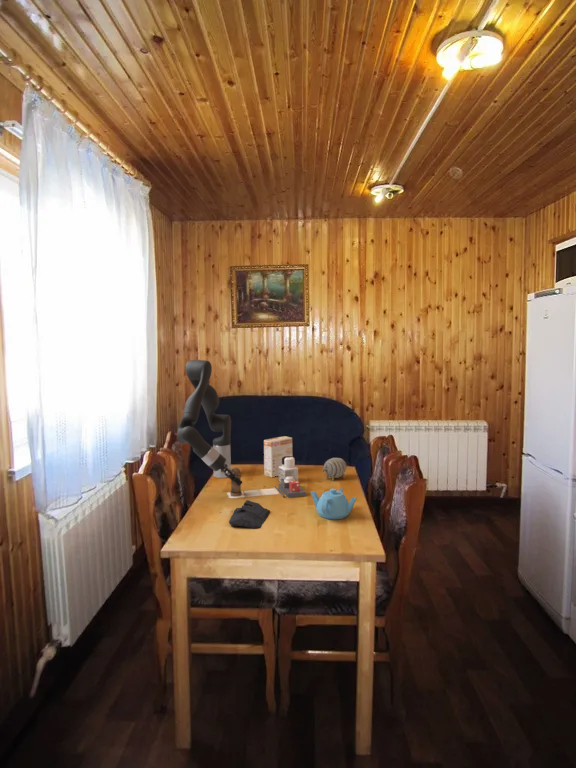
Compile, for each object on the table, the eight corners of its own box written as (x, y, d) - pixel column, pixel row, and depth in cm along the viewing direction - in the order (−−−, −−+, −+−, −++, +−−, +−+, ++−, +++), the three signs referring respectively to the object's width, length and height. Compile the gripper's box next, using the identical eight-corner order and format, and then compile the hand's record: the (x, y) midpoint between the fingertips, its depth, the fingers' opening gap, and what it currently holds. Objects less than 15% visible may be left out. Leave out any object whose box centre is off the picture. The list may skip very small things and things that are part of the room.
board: (222, 493, 231) (222, 490, 230) (275, 488, 238) (275, 485, 238) (228, 503, 215) (228, 501, 215) (284, 498, 222) (284, 495, 222)
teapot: (309, 510, 206) (309, 485, 205) (341, 506, 211) (341, 482, 210) (322, 523, 192) (322, 496, 191) (357, 518, 196) (357, 492, 195)
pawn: (229, 493, 226) (229, 466, 225) (240, 492, 227) (240, 466, 226) (231, 496, 221) (230, 469, 220) (242, 495, 222) (242, 468, 221)
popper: (278, 488, 238) (278, 475, 237) (296, 486, 240) (296, 474, 240) (287, 497, 223) (287, 485, 222) (306, 496, 225) (306, 483, 225)
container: (278, 480, 251) (278, 456, 249) (291, 478, 254) (291, 454, 253) (284, 484, 244) (284, 459, 242) (298, 482, 247) (298, 457, 246)
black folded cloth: (222, 528, 188) (222, 516, 187) (236, 509, 209) (236, 498, 209) (261, 530, 185) (260, 518, 185) (271, 511, 207) (271, 500, 207)
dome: (282, 483, 237) (282, 476, 237) (293, 482, 239) (293, 475, 238) (285, 487, 232) (285, 479, 231) (296, 486, 233) (296, 478, 233)
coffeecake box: (284, 470, 271) (284, 435, 270) (293, 472, 266) (293, 437, 264) (263, 475, 262) (263, 439, 260) (271, 477, 256) (271, 441, 255)
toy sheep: (352, 477, 255) (352, 457, 254) (331, 484, 244) (331, 462, 243) (337, 473, 263) (337, 453, 262) (316, 480, 251) (316, 459, 251)
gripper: (221, 456, 214) (248, 480, 218) (217, 449, 227) (242, 472, 232) (209, 468, 213) (237, 493, 217) (205, 461, 226) (232, 484, 231)
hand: (239, 482), depth 224 cm, fingers closed on pawn, 4 cm apart
